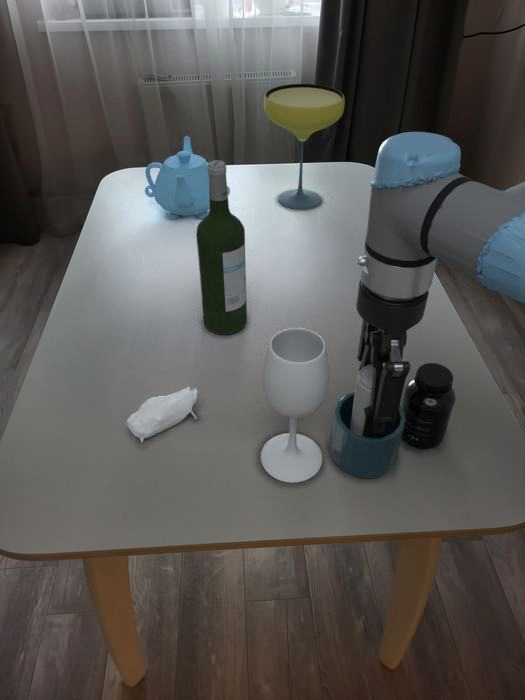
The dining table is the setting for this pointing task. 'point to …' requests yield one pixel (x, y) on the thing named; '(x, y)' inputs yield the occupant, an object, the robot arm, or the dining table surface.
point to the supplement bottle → (428, 406)
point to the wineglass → (294, 400)
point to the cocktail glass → (303, 124)
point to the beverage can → (361, 399)
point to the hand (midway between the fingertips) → (368, 425)
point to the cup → (364, 444)
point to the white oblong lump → (161, 413)
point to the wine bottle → (222, 259)
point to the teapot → (181, 184)
